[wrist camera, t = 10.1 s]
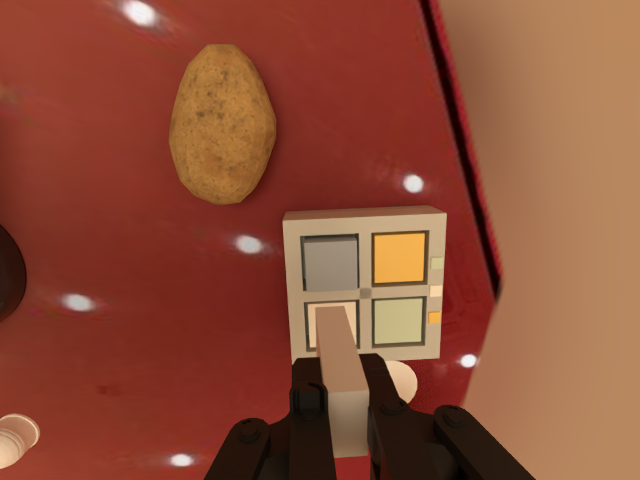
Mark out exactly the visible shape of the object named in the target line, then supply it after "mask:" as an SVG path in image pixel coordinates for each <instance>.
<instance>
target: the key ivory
mask: <svg viewBox="0 0 640 480" xmlns="http://www.w3.org/2000/svg"><path fill="white" fill-rule="evenodd" d="M331 306H344V307H345V310H346V314H347V317H348V320H349V324H350V327H351V331H352V334H353V337H354V341H355V344H356V301H355V300H336V301H316V302H308V320H309V339H310V347H316V316H315V307H331Z"/></svg>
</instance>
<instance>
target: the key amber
mask: <svg viewBox="0 0 640 480" xmlns="http://www.w3.org/2000/svg"><path fill="white" fill-rule="evenodd" d="M424 240H425V233H423V232H422V231H421V230H419V231H397V232H376V233H371V276H372V278H373V280H374V282H375V283H385V282H405V281H423V268H424Z"/></svg>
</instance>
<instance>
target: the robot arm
mask: <svg viewBox="0 0 640 480" xmlns="http://www.w3.org/2000/svg"><path fill="white" fill-rule="evenodd" d="M24 289H25V268H24V264H23V260H22V257H21V255H20V253H19V250H18V248H17V247H16V245H15V243H14V242H13V240H12V239H11V237H10V236H9V235H8V234H7V232H6V231H5V230H4V229H3V228H2V227H1V226H0V321H2V320H3V319H5V318H6V317H8V316H9V315H10V314H11V313H12V312H13V311H14V310H15V308H16V307H17V306H18V304H19V302H20V301H21V298H22V296H23V293H24ZM315 316H316V355H317V357H306V358H297V359H296V360H295V362H294V363H293V365H292V388H291V389H290V393H289V399H290V412H289V413H288V415H287V416H286V417H285V418H283V419H282V420H280V421H278V422H276V423H273V424H270V425H268V424H267V423H266V422H265V421H264V420H262V419H258V418H248V419H245V420H241V421H240V422H238V423H237V424H235V425H234V426H233V428H232V429H231V430H230V432H229V434H228V435H227V437H226V439H225V441H224V443H223V445H222V447H221V448H220V450H219V452H218V454H217V456H216V458H215V460H214V461H213V463H212V465H211V467H210V469H209V471H208V473H207V474H206V476H205V478H204V480H337V478H336V470H335V462H334V458H339V457H354V456H368V446H369V450H370V455H371V468H370V480H536V479H534V477H533V476H531V474H530V473H529V472H528V471H526V470H525V468H524V467H523V466H522V465H521V464H520V463H519V462H518V461H517V460H516V459H514V457H513V456H512V455H511V454H510V453H509V452H508V451H507V450H506V449H505V448H504V447H503V446H502V445H501V444H500V443H499V442H498V441H497V440H496V439H495V438H494V437H493V436H492V435H491V434H490V433H489V432H488V431H487V430H486V429H485V428H484V427H483V426H482V425H481V424H480V423H479V422H478V421H477V420H476V419H475V418H474V417H473V416H472V415H471V414H470V413H469V412H467V411H466V410H465V409H463V408H460V407H458V406H454V405H442V406H440V407H438V408H436V410H435V411H434V415H432V414H426V413H421V412H417V411H415V410H412V409H410V407H409V405H408V404H407V403H406V401H404V400H403V399H402V398H400V397H399V395H398V392H397V390H396V387H395V385H394V382H393V380H392V377H391V375H390V373H389V370H388V369H387V365H386V363H385V360H384V359H383V358H382V357H381V356H380V355H378V354H377V353H366V354H358V351H357V347H356V344H355V341H354V337H353V334H352V331H351V327H350V324H349V320H348V317H347V314H346V310H345V307H344V306H331V307H315Z"/></svg>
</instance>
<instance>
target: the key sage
mask: <svg viewBox="0 0 640 480" xmlns="http://www.w3.org/2000/svg"><path fill="white" fill-rule="evenodd" d="M371 318H372V337H373V340H374V343H375V344H382V343H400V342H419V341H421V324H422V297H421V296H414V297H394V298H375V299H371Z"/></svg>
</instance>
